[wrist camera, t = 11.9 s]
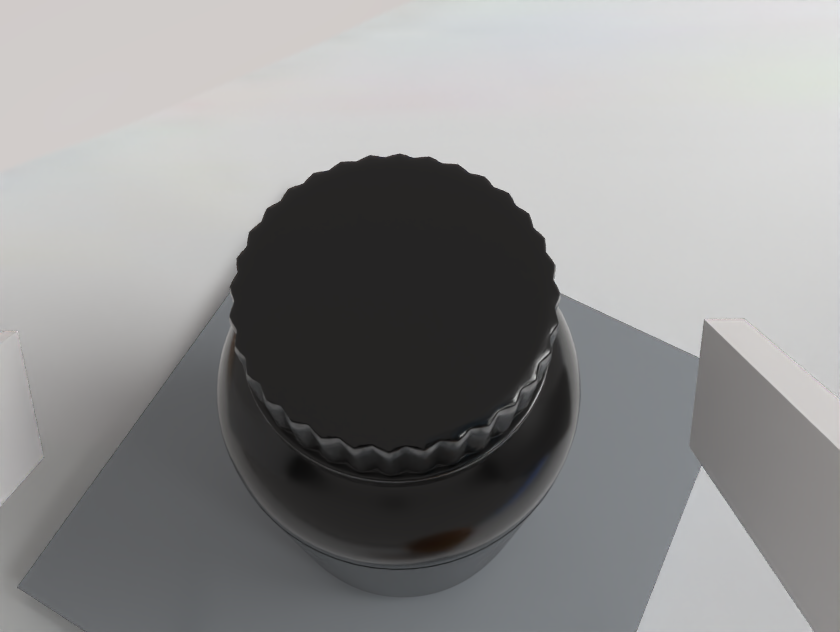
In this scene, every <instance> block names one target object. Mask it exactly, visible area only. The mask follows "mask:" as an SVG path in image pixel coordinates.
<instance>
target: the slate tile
mask: <svg viewBox="0 0 840 632" xmlns="http://www.w3.org/2000/svg"><path fill="white" fill-rule="evenodd" d="M560 295H561V299H560V302H559V305H558V307H559V309H560V310H561V312H562V314H563V316H564V318H565V321H566V323H567V325H568V327H569V330H570V333H571V336H572V339H573V342H574V344H575V349H576V353H577V358H578V363H579V371H580V379H581V401H580V413H579V418H578V424H577V429H576V433H575V436H574V439H573V443H572V446H571V449H570V451H569V454H568V456H567V458H566V461H565V463H564V465H563V468H562V469H561V471H560V473H559V475H558V477H557V479H556V480H555V482H554V484H553V486H552V487H551V489H550V490H549V492H548V493H547V494H546V496H545V497H544V499H543V500H542V501H541V503H540V504H539V505H538V506H537V508H536V509H535V510H534V511H533V513H532V514H531V515H530V516H529V517H528V519H527V520H526V521H525V522H524V523H523V525H522V526H521V527H520V528H519V530H518V531H517V532H516V533H515V534H514V536H513V537H512V538H511V539H510V540H509V542H508V543H507V544H506V545H505V546H504V548H503V549H502V550H501V551H500V552H499V553H498V554H497V556H496V557H495V558H494V559H493V560H491V561H490V562H489V563H488V564H487V565H486V566H485V567H484V568H483V569H481V570H480V571H479V572H478V573H476V574H475V575H474V576H472V577H470V578H469V579H467V580H466V581H464V582H462V583H460V584H458V585H456V586H454V587H452V588H449V589H447V590H444V591H441V592H438V593H434V594H430V595H425V596H418V597H402V598H400V597H387V596H382V595H376V594H372V593H369V592H365V591H362V590H360V589H357V588H355V587H352V586H350V585H348V584H346V583H345V582H343V581H341V580H339V579H338V578H336V577H335V576H333V575H332V574H330V573H329V572H327V571H326V570H325V569H324V568H322V567H321V566H320V565H319V564H318V563H316V562H315V561H314V560H313V559H312V558H311V557H310V556H309V555H308V554H307V553H306V552H305V551H304V550H303V549H302V548H301V547H300V546H298V545H297V544H296V543H295V542H294V541H293V540H292V539H291V538H290V537H289V536H288V535H287V534H286V533H285V532H284V531H283V530H282V529H281V528H280V527H279V526H278V525H277V524H276V523H275V522H274V521H273V520H272V519H271V518H270V517H269V516H268V515H267V514H266V513H265V512H264V511H263V510H262V509H261V508H260V506H259V505H258V504H257V502H256V501H255V500H254V499H253V497H252V496H251V495H250V493H249V492H248V490H247V489H246V487H245V485H244V484H243V482H242V480H241V479H240V477H239V476H238V474H237V472H236V470H235V468H234V466H233V464H232V461H231V459H230V457H229V454H228V452H227V449H226V446H225V443H224V440H223V436H222V432H221V428H220V423H219V415H218V407H217V381H218V370H219V364H220V359H221V354H222V350H223V347H224V343H225V340H226V337H227V334H228V332H229V330H230V327H231V324H230V322H229V315H230V311H231V308H232V306H233V303H234V302H233V300H232V297H231V293H229V295H228V296H227V297H226V299H225V300H224V302H223V303H222V304H221V306H220V307H219V308H218V310H217V311H216V313H215V314H214V315H213V317H212V318H211V320H210V321H209V322H208V324H207V325H206V326H205V328H204V329H203V331H202V332H201V333H200V335H199V336H198V338H197V339H196V340H195V342H194V343H193V344H192V346H191V347H190V349H189V350H188V351H187V353H186V354H185V356H184V357H183V358H182V360H181V361H180V362H179V364H178V365H177V367H176V368H175V369H174V371H173V372H172V374H171V375H170V376H169V378H168V379H167V380H166V382H165V383H164V385H163V386H162V387H161V389H160V390H159V392H158V393H157V394H156V396H155V397H154V398H153V400H152V401H151V403H150V404H149V405H148V407H147V408H146V410H145V411H144V412H143V414H142V415H141V416H140V418H139V419H138V421H137V422H136V423H135V425H134V426H133V428H132V429H131V430H130V432H129V433H128V434H127V436H126V437H125V439H124V440H123V441H122V443H121V444H120V446H119V447H118V448H117V450H116V451H115V452H114V454H113V455H112V457H111V458H110V459H109V461H108V462H107V464H106V465H105V466H104V468H103V469H102V470H101V472H100V473H99V475H98V476H97V477H96V479H95V480H94V482H93V483H92V484H91V486H90V487H89V488H88V490H87V491H86V493H85V494H84V495H83V497H82V498H81V500H80V501H79V502H78V504H77V505H76V506H75V508H74V509H73V511H72V512H71V513H70V515H69V516H68V518H67V519H66V520H65V522H64V523H63V524H62V526H61V527H60V529H59V530H58V531H57V533H56V534H55V536H54V537H53V538H52V540H51V541H50V542H49V544H48V545H47V547H46V548H45V549H44V551H43V552H42V554H41V555H40V556H39V558H38V559H37V560H36V562H35V563H34V565H33V566H32V567H31V569H30V570H29V572H28V573H27V574H26V576H25V577H24V578H23V580H22V581H21V583H20V584H19V585H18V587H17V588H19V589H21V590H22V591H24V592H25V593H27V594H28V595H30V596H31V597H33V598H34V599H36V600H37V601H39V602H41V603H42V604H44V605H45V606H47V607H48V608H50V609H51V610H53V611H54V612H56V613H57V614H59V615H61V616H62V617H64V618H65V619H67V620H68V621H70V622H71V623H73V624H74V625H76V626H77V627H79V628H81V629H82V630H84V631H85V632H636V631H637V629H638V626H639V623H640V621H641V618H642V616H643V613H644V611H645V608H646V606H647V603H648V600H649V598H650V595H651V593H652V590H653V588H654V585H655V583H656V580H657V577H658V575H659V572H660V570H661V567H662V565H663V562H664V560H665V557H666V554H667V552H668V549H669V547H670V544H671V542H672V539H673V537H674V534H675V531H676V529H677V526H678V524H679V521H680V519H681V516H682V514H683V511H684V508H685V506H686V503H687V501H688V498H689V496H690V493H691V490H692V488H693V485H694V483H695V480H696V478H697V475H698V473H699V470H700V467H701V463H700V462H699V460H698V459H697V457H696V456H695V454H694V453H693V451H692V450H691V448H690V447H689V443H690V435H691V426H692V418H693V409H694V401H695V392H696V384H697V375H698V367H699V358H698V357H696V356H694V355H692V354H690V353H687V352H685V351H683V350H681V349H679V348H677V347H675V346H672V345H670V344H668V343H666V342H664V341H662V340H659V339H657V338H655V337H653V336H651V335H649V334H647V333H644V332H642V331H640V330H638V329H636V328H634V327H632V326H629V325H627V324H625V323H623V322H621V321H619V320H617V319H614V318H612V317H610V316H608V315H606V314H604V313H602V312H599V311H597V310H595V309H593V308H591V307H589V306H587V305H584V304H582V303H580V302H578V301H576V300H574V299H572V298H569V297H567V296H565V295H563V294H561V293H560Z"/></svg>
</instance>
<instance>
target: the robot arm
mask: <svg viewBox="0 0 840 632" xmlns="http://www.w3.org/2000/svg"><path fill="white" fill-rule="evenodd" d="M689 447H690V448H691V450H692V451H693V453H694V454H695V456H696V457H697V459H698V460H699V462H700V463H701V465H702V466H703V468H704V469H705V471H706V472H707V474H708V475H709V477H710V478H711V480H712V481H713V483H714V484H715V485H716V487H717V488H718V490H719V491H720V493H721V494H722V496H723V497H724V499H725V500H726V502H727V503H728V505H729V506H730V508H731V509H732V511H733V512H734V514H735V515H736V517H737V518H738V520H739V521H740V523H741V524H742V526H743V527H744V528H745V530H746V531H747V533H748V534H749V536H750V537H751V539H752V540H753V542H754V543H755V545H756V546H757V548H758V549H759V551H760V552H761V554H762V555H763V557H764V558H765V560H766V561H767V563H768V564H769V566H770V567H771V568H772V570H773V571H774V573H775V574H776V576H777V577H778V579H779V580H780V582H781V583H782V585H783V586H784V588H785V589H786V591H787V592H788V594H789V595H790V597H791V598H792V600H793V601H794V603H795V604H796V606H797V607H798V608H799V610H800V611H801V613H802V614H803V616H804V617H805V619H806V620H807V622H808V623H809V625H810V626H811V628H812V629H813V631H814V632H840V399H839V398H838V397H836V396H835V395H834V394H833V393H832V392H830V391H829V390H828V389H827V388H826V387H825V386H823V385H822V384H821V383H820V382H819V381H817V380H816V379H815V378H814V377H813V376H812V375H810V374H809V373H808V372H807V371H806V370H804V369H803V368H802V367H801V366H800V365H799V364H797V363H796V362H795V361H794V360H793V359H791V358H790V357H789V356H788V355H787V354H786V353H784V352H783V351H782V350H781V349H780V348H778V347H777V346H776V345H775V344H774V343H773V342H771V341H770V340H769V339H768V338H767V337H765V336H764V335H763V334H762V333H761V332H760V331H758V330H757V329H756V328H755V327H754V326H752V325H751V324H750V323H749V322H748V321H747V320H745V319H704V324H703V333H702V341H701V350H700V358H699V367H698V375H697V384H696V392H695V401H694V409H693V418H692V426H691V435H690V443H689ZM43 458H44V454H43V450H42V445H41V440H40V435H39V431H38V426H37V421H36V416H35V411H34V407H33V402H32V397H31V392H30V387H29V383H28V378H27V373H26V368H25V363H24V359H23V354H22V349H21V344H20V340H19V335H18V331H0V506H1V505H2V504H3V503H4V502H5V501H6V500H7V499H8V497H9V496H10V495H11V494H12V493H13V492H14V491H15V490H16V488H17V487H18V486H19V485H20V484H21V483H22V482H23V481H24V479H25V478H26V477H27V476H28V475H29V474H30V473H31V472H32V470H33V469H34V468H35V467H36V466H37V465H38V464H39V463H40V461H41V460H42V459H43Z"/></svg>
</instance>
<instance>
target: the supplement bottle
mask: <svg viewBox="0 0 840 632" xmlns="http://www.w3.org/2000/svg"><path fill="white" fill-rule="evenodd" d="M237 271H238V273H237V274H236V276H235V278H234V279H233V281H232V283H231V286H230V293H231V297H232V300H233V302H234V303H233V306H232V308H231V311H230V315H229V322H230V324H231V327H230V330H229V332H228V334H227V337H226V340H225V343H224V347H223V350H222V354H221V359H220V364H219V370H218V381H217V407H218V415H219V423H220V428H221V432H222V436H223V440H224V443H225V446H226V449H227V452H228V454H229V457H230V459H231V461H232V464H233V466H234V468H235V470H236V472H237V474H238V476H239V477H240V479H241V480H242V482H243V484H244V485H245V487H246V489H247V490H248V492H249V493H250V495H251V496H252V497H253V499H254V500H255V501H256V502H257V504H258V505H259V506H260V508H261V509H262V510H263V511H264V512H265V513H266V514H267V515H268V516H269V517H270V518H271V519H272V520H273V521H274V522H275V523H276V524H277V525H278V526H279V527H280V528H281V529H282V530H283V531H284V532H285V533H286V534H287V535H288V536H289V537H290V538H291V539H292V540H293V541H294V542H295V543H296V544H297V545H298V546H300V547H301V548H302V549H303V550H304V551H305V552H306V553H307V554H308V555H309V556H310V557H311V558H312V559H313V560H314V561H315V562H316V563H318V564H319V565H320V566H321V567H322V568H324V569H325V570H326V571H327V572H329V573H330V574H332V575H333V576H335V577H336V578H338V579H339V580H341V581H343V582H345V583H346V584H348V585H350V586H352V587H355V588H357V589H360V590H362V591H365V592H369V593H372V594H376V595H382V596H387V597H400V598H402V597H418V596H425V595H430V594H434V593H438V592H441V591H444V590H447V589H449V588H452V587H454V586H456V585H458V584H460V583H462V582H464V581H466V580H467V579H469V578H470V577H472V576H474V575H475V574H476V573H478V572H479V571H480V570H481V569H483V568H484V567H485V566H486V565H487V564H488V563H489V562H490V561H491V560H493V559H494V558H495V557H496V556H497V554H498V553H499V552H500V551H501V550H502V549H503V548H504V546H505V545H506V544H507V543H508V542H509V540H510V539H511V538H512V537H513V536H514V534H515V533H516V532H517V531H518V530H519V528H520V527H521V526H522V525H523V523H524V522H525V521H526V520H527V519H528V517H529V516H530V515H531V514H532V513H533V511H534V510H535V509H536V508H537V506H538V505H539V504H540V503H541V501H542V500H543V499H544V497H545V496H546V494H547V493H548V492H549V490H550V489H551V487H552V486H553V484H554V482H555V480H556V479H557V477H558V475H559V473H560V471H561V469H562V468H563V465H564V463H565V461H566V458H567V456H568V454H569V451H570V449H571V446H572V443H573V439H574V436H575V433H576V429H577V424H578V418H579V413H580V401H581V379H580V371H579V363H578V358H577V353H576V349H575V344H574V342H573V339H572V336H571V333H570V330H569V327H568V325H567V323H566V321H565V318H564V316H563V314H562V312H561V310H560V309H559V307H558V305H559V302H560V299H561V295H560V292H559V289H558V287H557V285H556V284H555V282H554V278H555V271H556V266H555V264H554V262H553V261H552V259H551V258H550V257H549V255H548V254H547V253H546V243H545V238H544V237H543V236H542V235H541V234H540V233H539V232H538V231H536V230H535V229H534V228H533V224H532V220H531V217H530V215H529V213H527V212H526V211H524V210H523V209H521V208H519V207H517V206H516V205H515V203H514V201H513V199H512V197H511V196H510V194H509V193H507V192H505V191H503V190H500V189H498V188H495V187H493V186H492V185H491V183H490V182H489V181H488V180H487V179H486V178H485V177H484V176H480V175H476V174H471V173H468V172H467V171H466V170H465V169H464V168H462V167H461V166H459V165H458V164H445V163H440V162H438V161H437V160H436V159H433V158H431V157H419V158H412V157H409V156H407V155H403V154H396V155H392V156H388V157H379V156H372V155H370V156H367V157H365V158H363V159H361V160H359V161H357V162H356V161H348V162H340V163H339V164H337V165H335V166H334V167H333V168H331V169H330V170H328V171H323V172H317V173H313V174H312V175H311V176H310V177H309V178H308V179H307V180H306V181H305V182H304V183H303V184H301V185H298V186H295V187H292V188H290V189H288V190H287V192H286V193H285V194H284V196H283V198H282V199H281V201H279V202H278V203H276V204H274V205H272V206H270V207H269V208H267V209H266V212H265V214H264V216H263V219H262V222H261V223H259V224H258V225H257V226H255V227H254V228H253V229H252V230H251V231H250V232H249V235H248V241H247V247H246V248H245V249H244V250H243V251H242V252H241V253H240V255H239V256H238V257H237Z"/></svg>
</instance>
